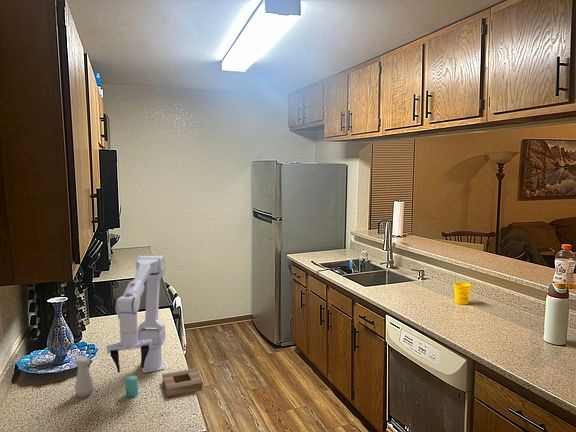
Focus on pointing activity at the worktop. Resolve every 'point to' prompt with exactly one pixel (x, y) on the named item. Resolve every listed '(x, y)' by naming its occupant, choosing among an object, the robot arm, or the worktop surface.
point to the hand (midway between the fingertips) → (130, 369)
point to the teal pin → (131, 386)
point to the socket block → (182, 382)
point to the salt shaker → (83, 378)
